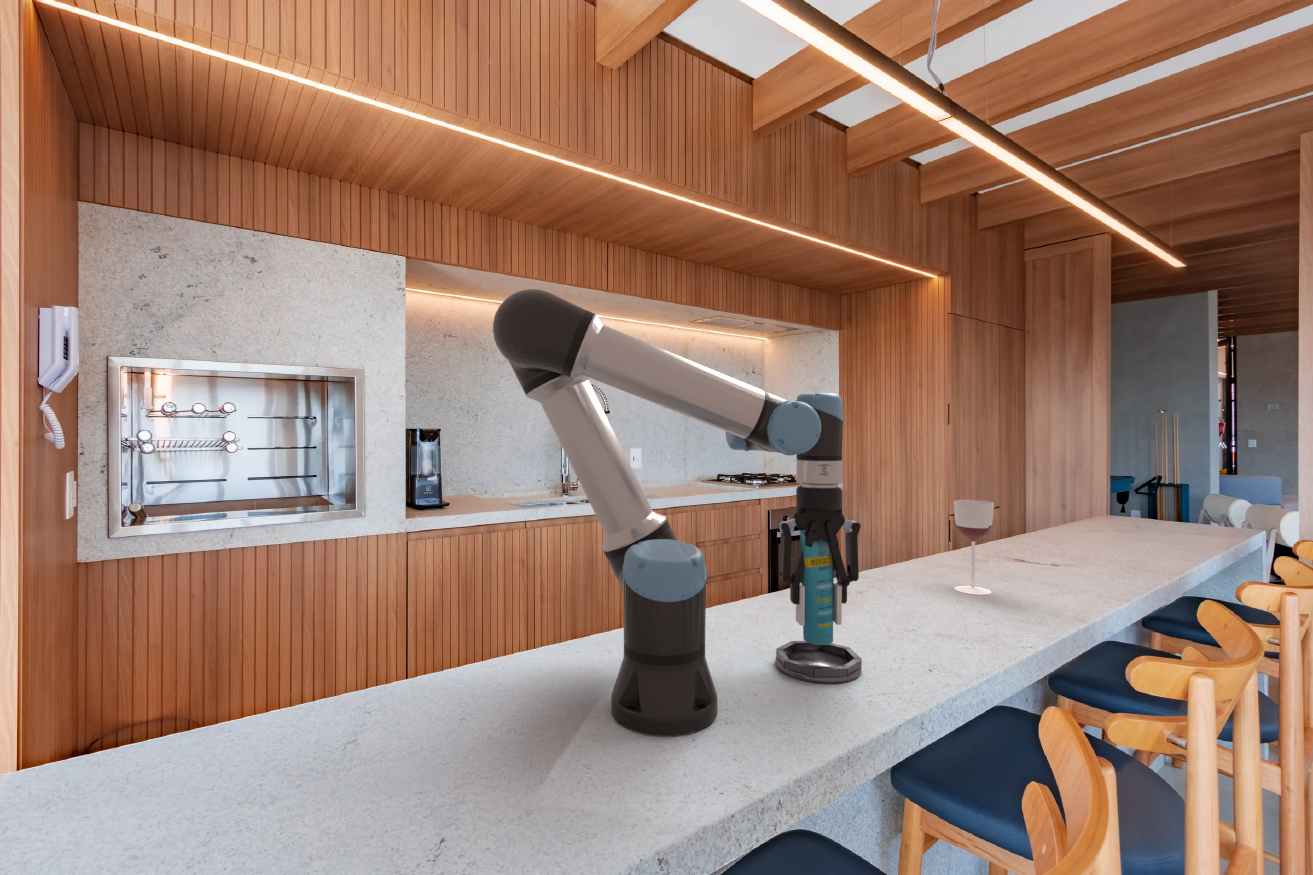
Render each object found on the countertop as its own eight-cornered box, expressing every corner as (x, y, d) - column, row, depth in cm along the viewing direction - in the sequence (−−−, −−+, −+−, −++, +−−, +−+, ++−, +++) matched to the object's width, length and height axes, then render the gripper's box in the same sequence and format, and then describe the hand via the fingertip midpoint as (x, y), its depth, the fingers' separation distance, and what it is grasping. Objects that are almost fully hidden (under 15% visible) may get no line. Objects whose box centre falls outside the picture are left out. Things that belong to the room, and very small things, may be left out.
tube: (814, 649, 101) (812, 532, 101) (792, 641, 105) (790, 528, 105) (844, 640, 105) (843, 527, 105) (822, 632, 110) (821, 523, 109)
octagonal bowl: (787, 684, 98) (788, 670, 98) (767, 652, 112) (767, 640, 112) (875, 683, 99) (875, 669, 98) (843, 651, 112) (844, 638, 112)
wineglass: (960, 594, 151) (961, 503, 150) (948, 584, 160) (949, 499, 160) (998, 596, 149) (1000, 504, 149) (984, 585, 159) (985, 500, 158)
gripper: (769, 487, 100) (769, 630, 101) (882, 487, 101) (881, 628, 102) (759, 483, 108) (759, 616, 108) (864, 483, 109) (863, 614, 109)
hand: (818, 622), depth 105 cm, fingers closed on tube, 5 cm apart
